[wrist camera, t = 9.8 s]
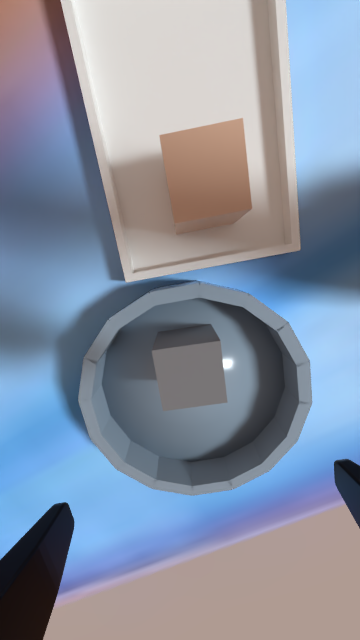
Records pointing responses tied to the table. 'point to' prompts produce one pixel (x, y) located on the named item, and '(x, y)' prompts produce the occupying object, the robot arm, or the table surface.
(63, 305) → the table surface
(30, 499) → the table surface
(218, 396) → the gray chunky prism
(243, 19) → the parts tray
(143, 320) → the bowl
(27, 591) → the robot arm
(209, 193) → the matte tan cube
